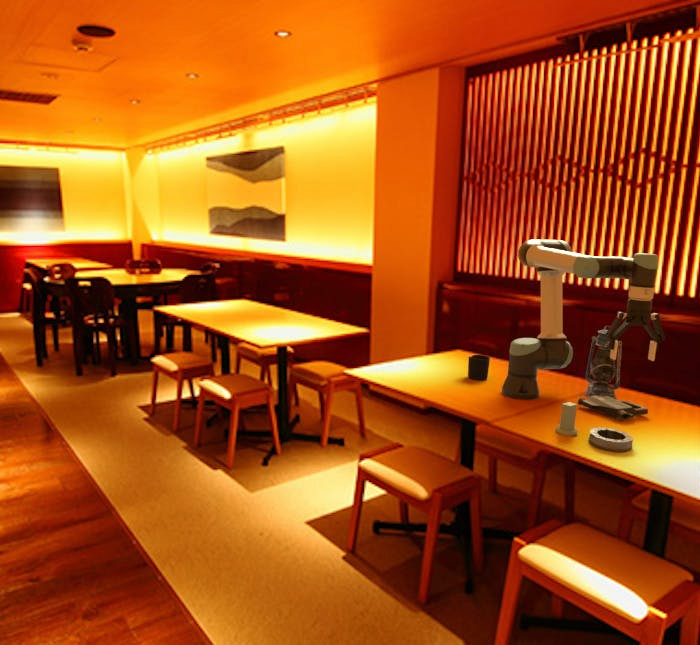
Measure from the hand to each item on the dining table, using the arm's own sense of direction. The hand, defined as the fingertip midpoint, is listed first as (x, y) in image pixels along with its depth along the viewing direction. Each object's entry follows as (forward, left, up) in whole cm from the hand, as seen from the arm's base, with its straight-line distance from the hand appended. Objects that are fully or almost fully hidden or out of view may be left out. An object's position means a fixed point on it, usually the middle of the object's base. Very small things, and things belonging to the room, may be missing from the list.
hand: (631, 359), depth 195 cm
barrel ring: (+6, -19, -25) cm, 32 cm away
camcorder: (-10, +13, -26) cm, 30 cm away
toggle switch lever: (-8, -22, -25) cm, 34 cm away
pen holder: (-70, +3, -25) cm, 75 cm away
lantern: (-26, +30, -25) cm, 47 cm away
